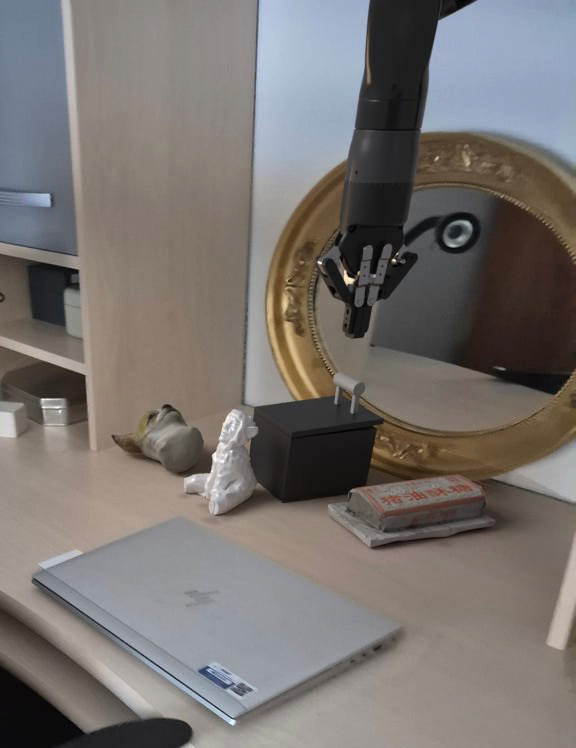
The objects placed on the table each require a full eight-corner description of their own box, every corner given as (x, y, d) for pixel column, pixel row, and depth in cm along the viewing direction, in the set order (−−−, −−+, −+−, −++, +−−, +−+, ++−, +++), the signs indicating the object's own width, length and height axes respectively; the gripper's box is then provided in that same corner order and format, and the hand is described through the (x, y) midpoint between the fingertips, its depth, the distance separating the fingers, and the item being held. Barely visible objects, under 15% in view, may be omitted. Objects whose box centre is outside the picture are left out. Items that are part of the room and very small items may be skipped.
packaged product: (451, 464, 109) (504, 493, 101) (443, 498, 112) (494, 529, 104) (330, 480, 105) (376, 513, 97) (324, 515, 107) (368, 550, 99)
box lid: (340, 400, 117) (345, 364, 115) (383, 424, 109) (389, 386, 106) (253, 412, 114) (256, 375, 112) (291, 438, 106) (295, 399, 103)
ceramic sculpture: (160, 421, 111) (106, 397, 123) (159, 483, 115) (107, 455, 127) (226, 410, 115) (168, 387, 127) (222, 470, 120) (167, 444, 131)
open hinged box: (325, 463, 122) (334, 403, 117) (365, 491, 114) (377, 428, 109) (247, 473, 119) (253, 412, 114) (282, 502, 111) (290, 438, 106)
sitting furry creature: (179, 489, 114) (184, 403, 108) (233, 480, 117) (241, 394, 111) (213, 517, 107) (221, 426, 100) (270, 506, 110) (282, 416, 103)
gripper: (345, 181, 88) (321, 349, 98) (451, 177, 92) (418, 340, 101) (309, 175, 94) (290, 334, 104) (411, 171, 98) (383, 325, 107)
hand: (354, 336), depth 103 cm, fingers closed
